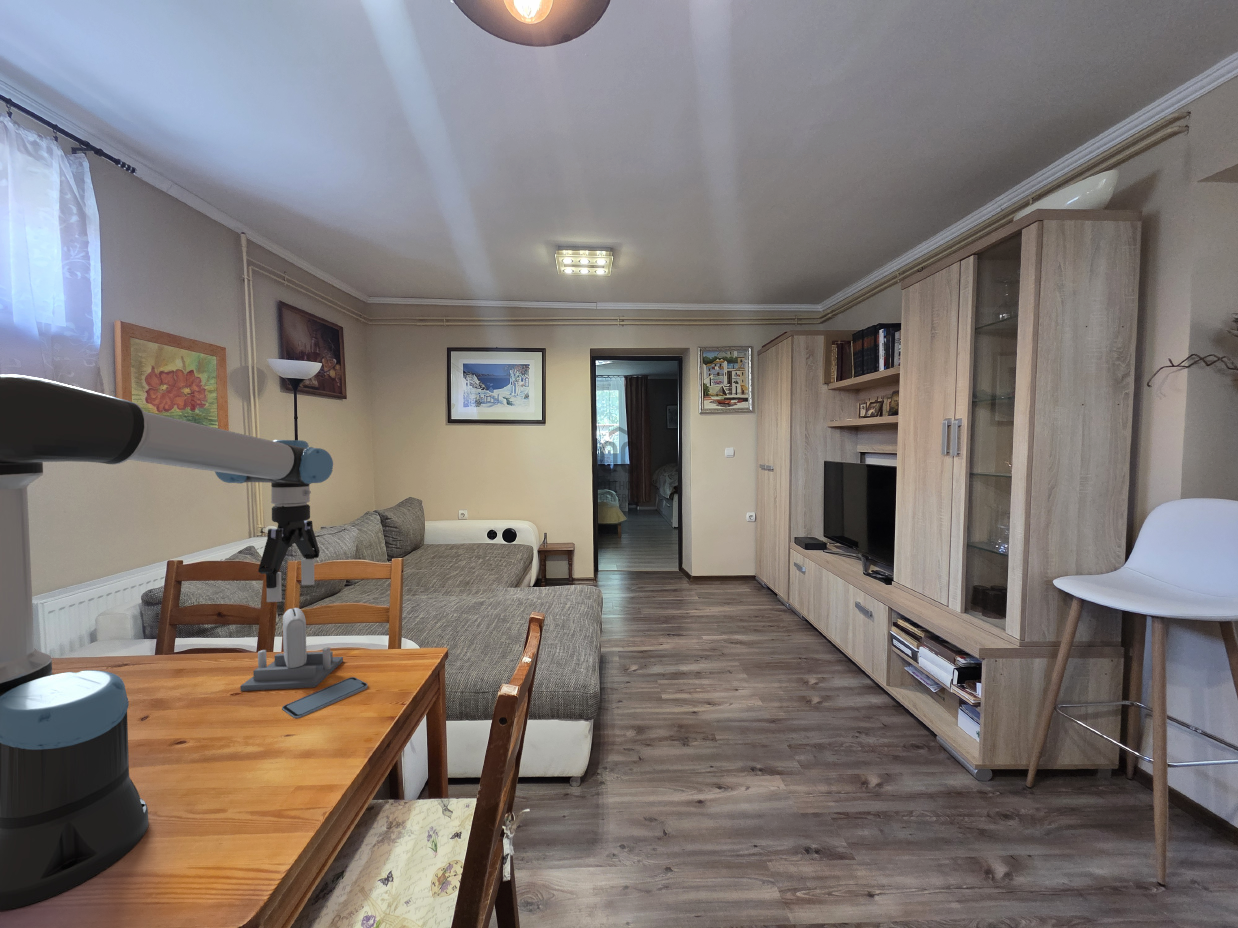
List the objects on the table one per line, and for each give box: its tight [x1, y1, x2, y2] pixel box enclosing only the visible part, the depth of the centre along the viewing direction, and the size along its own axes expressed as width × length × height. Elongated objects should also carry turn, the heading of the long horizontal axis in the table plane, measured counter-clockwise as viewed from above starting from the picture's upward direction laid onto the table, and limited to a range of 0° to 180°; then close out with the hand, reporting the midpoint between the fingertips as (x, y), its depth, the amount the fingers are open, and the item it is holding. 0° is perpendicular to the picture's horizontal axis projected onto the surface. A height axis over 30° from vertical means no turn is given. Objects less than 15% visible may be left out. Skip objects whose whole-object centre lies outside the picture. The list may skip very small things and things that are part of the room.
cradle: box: [239, 646, 344, 692], centre depth 112 cm, size 13×16×6 cm
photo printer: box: [282, 607, 307, 668], centre depth 112 cm, size 10×4×12 cm, turn 39°
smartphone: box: [281, 676, 368, 719], centre depth 102 cm, size 7×1×15 cm
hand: (292, 592), depth 111 cm, fingers open, 13 cm apart
